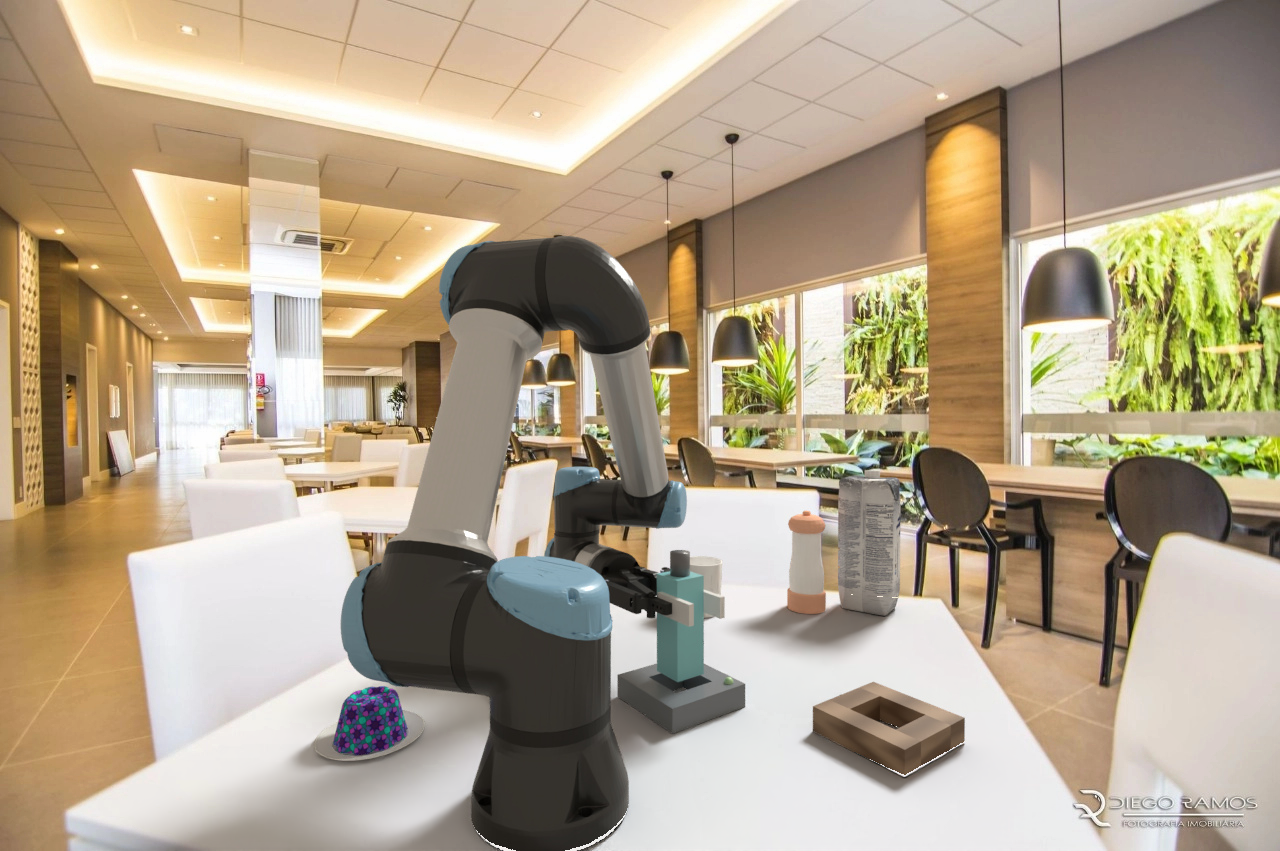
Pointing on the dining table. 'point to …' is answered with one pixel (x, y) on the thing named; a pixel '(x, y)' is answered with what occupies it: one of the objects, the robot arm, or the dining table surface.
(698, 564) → the white cup
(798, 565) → the pepper shaker
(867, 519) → the juice carton
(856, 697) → the holster
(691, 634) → the plug
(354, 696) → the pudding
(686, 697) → the port
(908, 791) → the dining table surface
